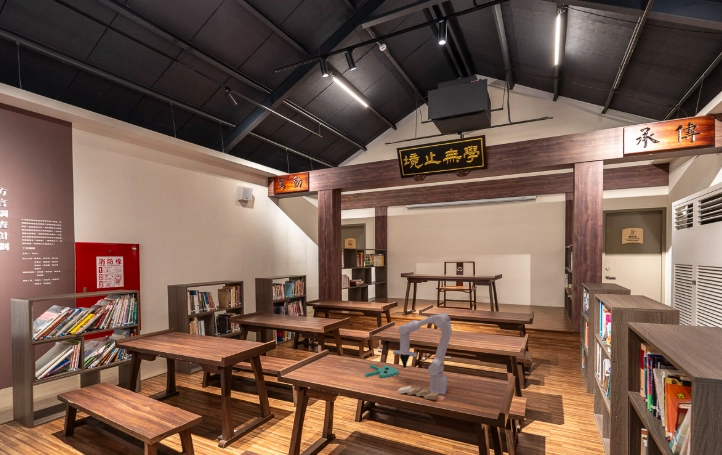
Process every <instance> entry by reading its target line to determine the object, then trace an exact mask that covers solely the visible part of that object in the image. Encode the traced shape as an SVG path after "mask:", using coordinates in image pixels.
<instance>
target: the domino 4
mask: <svg viewBox="0 0 722 455" xmlns="http://www.w3.org/2000/svg"><path fill="white" fill-rule="evenodd" d="M431 400H432V401H437V402H440V403H441V402H442V403H444V401H445V400H446V396H442V395H440V396H439V397H437V398H436V399H430V401H431Z"/></svg>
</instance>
